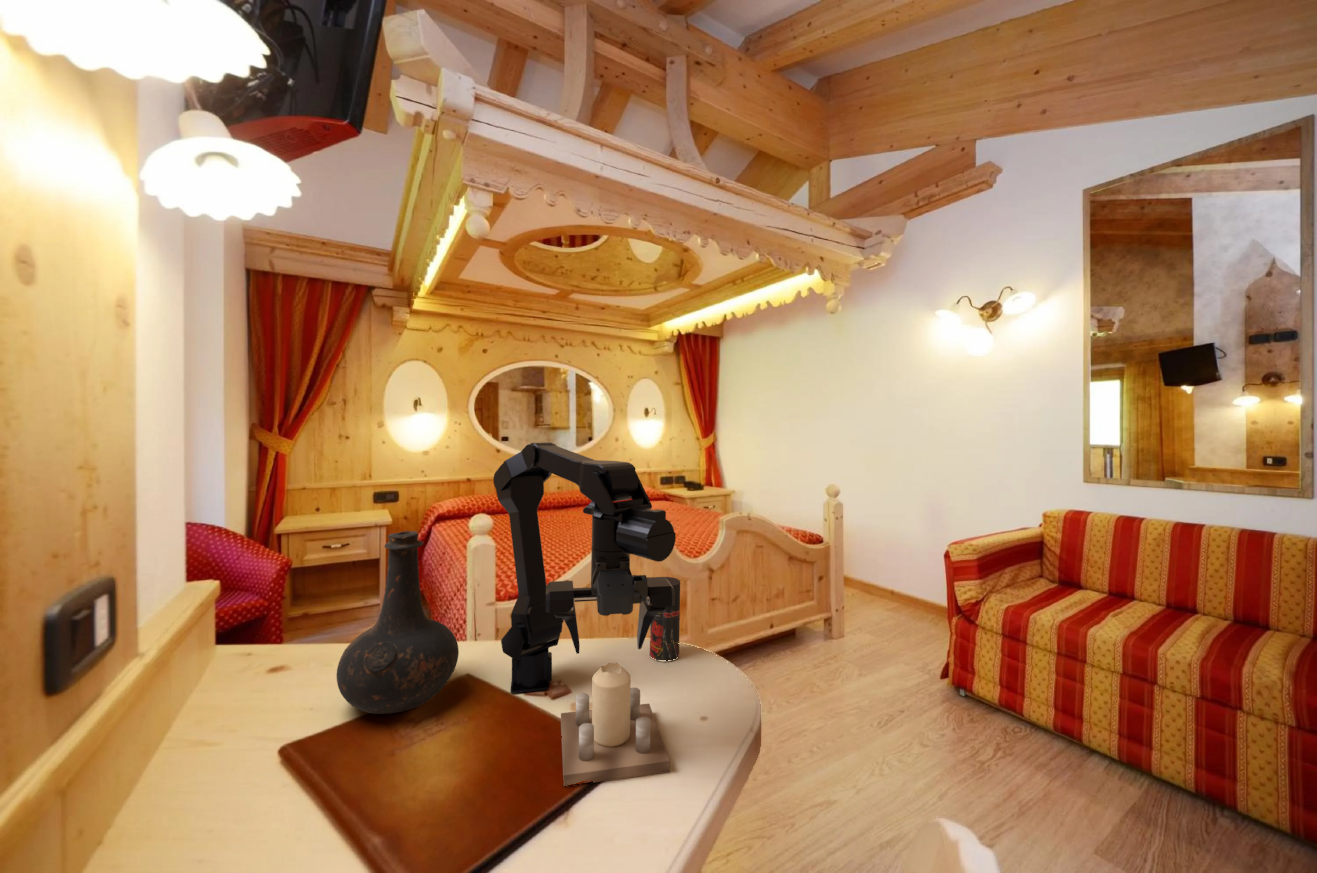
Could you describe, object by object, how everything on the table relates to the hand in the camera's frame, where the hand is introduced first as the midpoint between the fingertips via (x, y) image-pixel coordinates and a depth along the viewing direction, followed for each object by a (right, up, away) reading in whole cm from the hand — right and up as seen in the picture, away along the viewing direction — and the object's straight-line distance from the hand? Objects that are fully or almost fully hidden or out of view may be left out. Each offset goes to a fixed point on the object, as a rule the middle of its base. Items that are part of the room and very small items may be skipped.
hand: (608, 650), depth 75 cm
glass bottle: (-36, -12, +9) cm, 39 cm away
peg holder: (+1, -13, -2) cm, 13 cm away
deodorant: (+9, -12, +26) cm, 30 cm away
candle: (+1, -12, -2) cm, 12 cm away
